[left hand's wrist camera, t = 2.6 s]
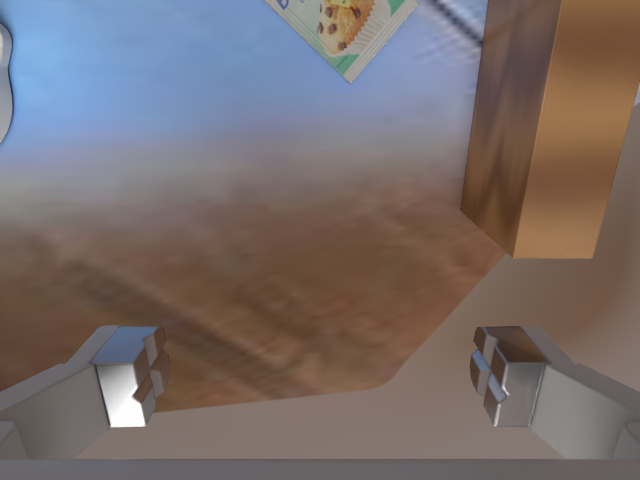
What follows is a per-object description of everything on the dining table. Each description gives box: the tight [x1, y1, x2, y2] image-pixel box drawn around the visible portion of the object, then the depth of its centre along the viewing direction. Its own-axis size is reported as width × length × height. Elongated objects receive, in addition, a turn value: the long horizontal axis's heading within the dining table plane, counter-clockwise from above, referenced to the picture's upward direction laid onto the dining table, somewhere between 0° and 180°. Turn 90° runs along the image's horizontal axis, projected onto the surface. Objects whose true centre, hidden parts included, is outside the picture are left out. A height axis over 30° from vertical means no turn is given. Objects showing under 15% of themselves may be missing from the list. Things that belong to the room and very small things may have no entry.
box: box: [461, 0, 640, 258], centre depth 32 cm, size 26×6×13 cm, turn 0°
